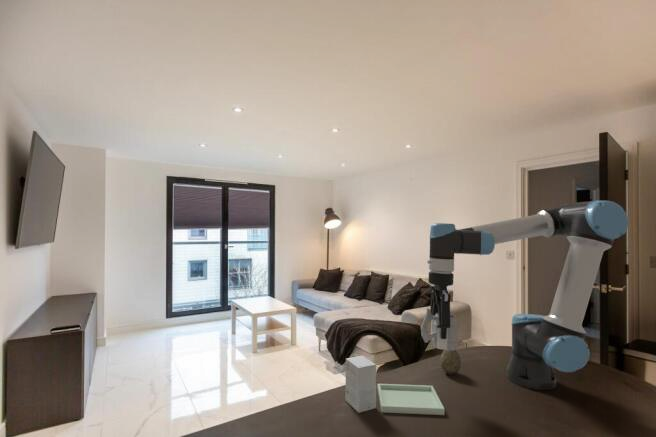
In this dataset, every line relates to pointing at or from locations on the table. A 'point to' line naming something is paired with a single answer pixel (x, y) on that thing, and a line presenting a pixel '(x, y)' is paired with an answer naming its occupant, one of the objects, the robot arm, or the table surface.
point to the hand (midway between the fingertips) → (438, 343)
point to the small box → (360, 383)
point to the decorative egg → (450, 361)
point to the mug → (452, 331)
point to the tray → (409, 399)
